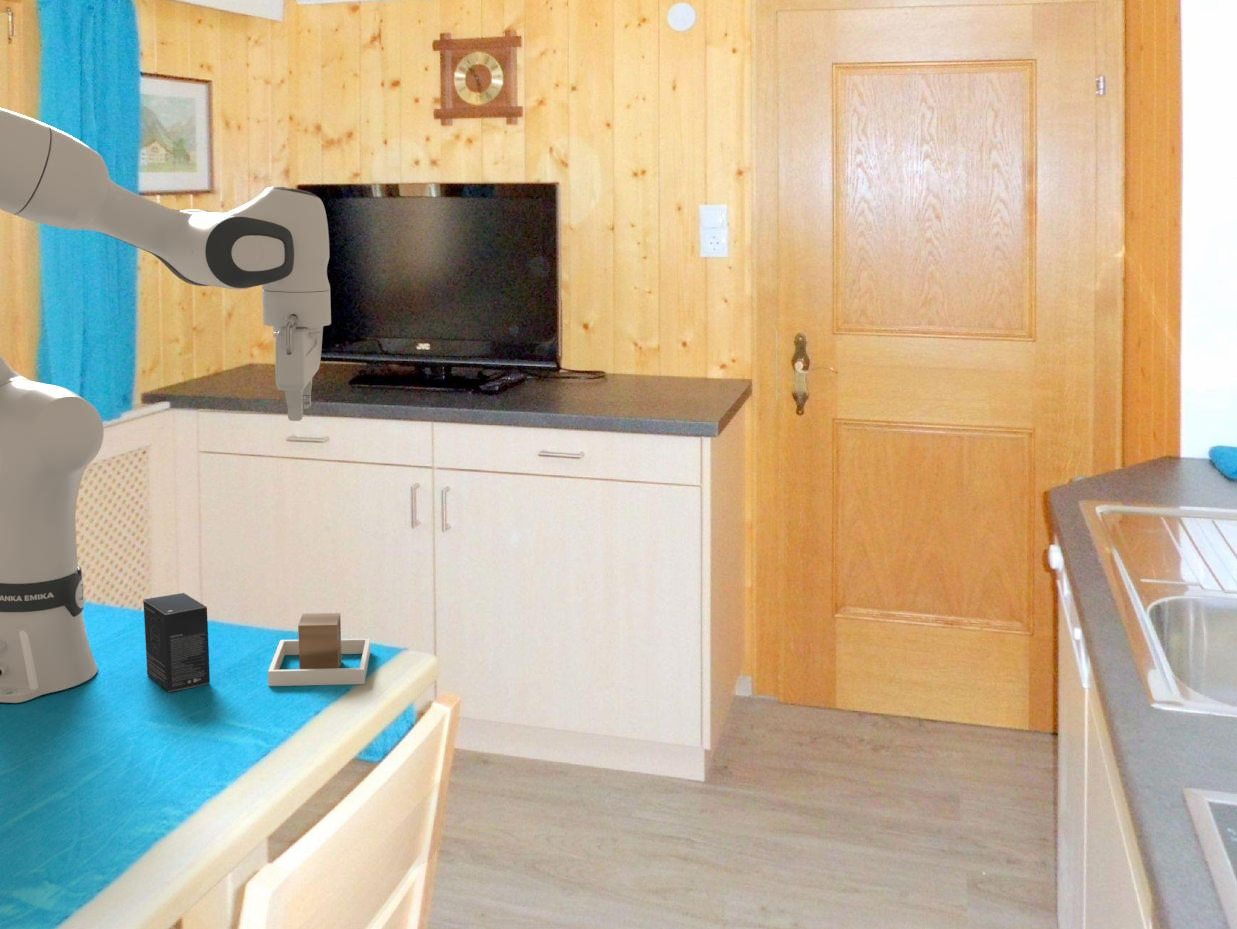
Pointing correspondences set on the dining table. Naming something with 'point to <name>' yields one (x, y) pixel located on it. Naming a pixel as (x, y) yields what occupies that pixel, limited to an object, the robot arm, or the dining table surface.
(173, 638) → the box
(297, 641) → the white square frame
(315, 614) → the walnut block
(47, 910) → the dining table surface
